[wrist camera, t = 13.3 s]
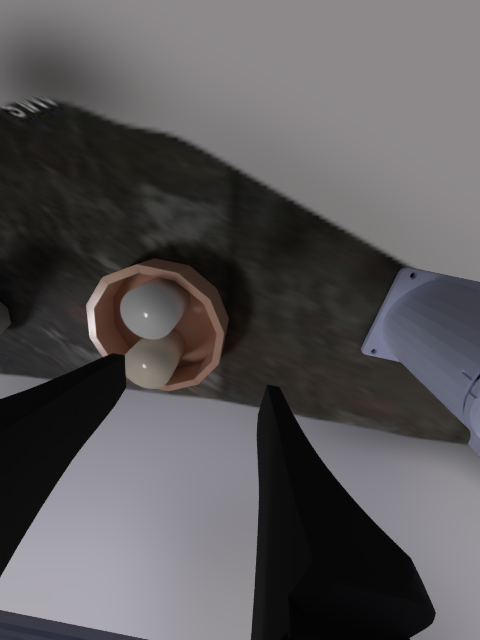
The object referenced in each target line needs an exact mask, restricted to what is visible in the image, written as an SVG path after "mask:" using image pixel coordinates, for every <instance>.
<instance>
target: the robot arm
mask: <svg viewBox="0 0 480 640" xmlns="http://www.w3.org/2000/svg"><path fill="white" fill-rule="evenodd" d="M413 272H414V276H413V277H411V278H410V275H411V274H412V273H413ZM373 349H375V350H374V351H373V352H371V351H372V350H373ZM361 351H362V352H363V353H364V354H365V355H370V356H374V357H379V358H384V359H389V360H394V361H399V362H401V363H402V364H403V365H404V366H405V367H406V368H407V369H408V370H409V371H410V372H411V373H412V374H413V375H414V376H415V377H416V378H417V379H418V380H419V381H420V382H422V383H423V384H424V385H425V386H426V387H427V388H428V389H429V390H430V391H431V392H432V393H433V394H434V395H435V396H436V397H437V398H438V399H439V400H440V401H441V402H442V403H443V404H444V405H445V406H446V407H447V408H448V409H449V410H450V411H451V412H452V413H453V414H454V415H455V416H456V417H457V418H458V419H459V420H460V421H461V422H462V423H463V424H464V425H465V426H466V427H467V428H468V429H469V430H470V432H471V438H470V441H469V443H468V445H469V446H470V447H471V448H472V449H473V450H474V451H475V452H476V453H477V454H478V455H479V456H480V282H477V281H472V280H467V279H463V278H458V277H453V276H448V275H443V274H439V273H434V272H429V271H424V270H419V269H415V268H410V267H404V268H402V269H400V271H399V272H398V274H397V276H396V278H395V280H394V282H393V284H392V286H391V288H390V290H389V292H388V294H387V296H386V298H385V300H384V303H383V305H382V307H381V309H380V311H379V313H378V315H377V317H376V319H375V321H374V323H373V325H372V327H371V329H370V331H369V333H368V335H367V337H366V339H365V341H364V343H363V345H362V347H361ZM125 388H126V370H125V355H121V354H116V353H112V354H109V355H107V356H104V357H102V358H100V359H98V360H96V361H93V362H91V363H89V364H87V365H85V366H83V367H80V368H78V369H76V370H74V371H72V372H69V373H67V374H65V375H62V376H60V377H58V378H55V379H53V380H50V381H48V382H46V383H43V384H41V385H38V386H36V387H33V388H31V389H28V390H25V391H22V392H20V393H17V394H14V395H11V396H8V397H5V398H3V399H0V577H1V575H2V573H3V571H4V570H5V568H6V566H7V564H8V563H9V561H10V559H11V557H12V556H13V554H14V552H15V550H16V549H17V547H18V545H19V543H20V542H21V540H22V538H23V537H24V535H25V533H26V531H27V530H28V528H29V527H30V525H31V523H32V522H33V520H34V519H35V517H36V515H37V513H38V512H39V510H40V509H41V507H42V505H43V504H44V502H45V501H46V499H47V498H48V496H49V495H50V493H51V491H52V490H53V488H54V487H55V485H56V484H57V482H58V481H59V479H60V478H61V476H62V475H63V473H64V472H65V470H66V469H67V467H68V466H69V464H70V462H71V461H72V460H73V458H74V457H75V456H76V454H77V453H78V451H79V450H80V449H81V448H82V446H83V445H84V444H85V443H86V441H87V440H88V439H89V438H90V436H91V435H92V434H93V433H94V431H95V430H96V429H97V428H98V426H99V425H100V424H101V423H102V421H103V420H104V419H105V418H106V416H107V415H108V414H109V412H110V411H111V410H112V409H113V407H114V406H115V404H116V403H117V401H118V400H119V398H120V397H121V395H122V393H123V392H124V390H125ZM257 453H258V475H259V514H258V536H257V557H256V573H255V590H254V605H253V619H252V633H251V640H410V639H409V638H410V637H412V636H414V635H416V634H417V633H419V632H420V631H422V630H424V629H426V628H427V627H428V626H430V625H431V624H432V623H433V620H434V618H435V614H436V612H435V610H434V607H433V605H432V603H431V600H430V598H429V596H428V594H427V591H426V589H425V587H424V584H423V582H422V580H421V578H420V576H419V574H418V572H417V570H416V568H415V566H414V564H413V562H412V560H411V558H410V557H409V556H408V555H407V554H406V553H405V552H404V551H403V550H402V549H401V548H400V547H399V546H398V545H397V544H396V543H395V542H394V541H393V540H392V539H391V538H390V537H389V536H388V535H387V534H386V533H385V532H384V531H383V530H381V528H379V526H378V525H377V524H376V523H375V522H374V521H373V520H372V519H371V518H370V517H369V516H368V515H367V514H366V513H365V512H364V510H363V509H362V508H361V507H360V506H359V505H358V504H357V503H356V502H355V501H354V499H353V498H352V497H351V496H350V495H349V494H348V493H347V491H346V490H345V489H344V488H343V487H342V485H341V484H340V483H339V482H338V481H337V479H336V478H335V477H334V476H333V474H332V473H331V472H330V471H329V469H328V468H327V467H326V465H325V464H324V463H323V461H322V460H321V458H320V457H319V456H318V454H317V453H316V451H315V450H314V448H313V447H312V445H311V444H310V442H309V441H308V439H307V438H306V436H305V434H304V433H303V431H302V429H301V428H300V426H299V424H298V422H297V420H296V419H295V417H294V415H293V413H292V411H291V409H290V407H289V405H288V404H287V402H286V399H285V397H284V395H283V393H282V391H281V389H280V388H279V387H276V386H271V385H267V387H266V390H265V393H264V397H263V400H262V403H261V406H260V410H259V413H258V423H257ZM0 640H147V639H142V638H137V637H132V636H127V635H122V634H116V633H112V632H107V631H101V630H97V629H92V628H86V627H82V626H77V625H72V624H67V623H62V622H57V621H52V620H47V619H42V618H37V617H32V616H27V615H21V614H16V613H12V612H7V611H2V610H0Z"/></svg>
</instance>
